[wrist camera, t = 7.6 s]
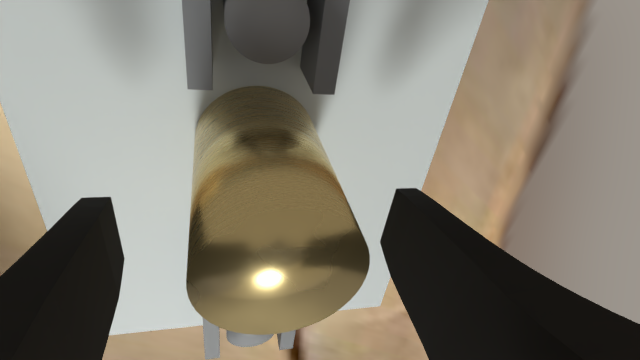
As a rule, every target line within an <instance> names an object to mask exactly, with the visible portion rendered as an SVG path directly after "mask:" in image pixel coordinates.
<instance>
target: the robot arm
mask: <svg viewBox="0 0 640 360" xmlns="http://www.w3.org/2000/svg"><path fill="white" fill-rule="evenodd" d="M380 244H381V247H382V251H383V254H384V258H385V261H386V264H387V267H388V270H389V273H390V275H391V278H392V280H393V282H394V284H395V287H396V289H397V291H398V293H399V295H400V297H401V300H402V302H403V304H404V306H405V308H406V310H407V312H408V314H409V317H410V319H411V321H412V323H413V325H414V327H415V329H416V331H417V333H418V336H419V338H420V340H421V342H422V344H423V346H424V349H425V351H426V354H427V356H428V358H429V360H640V324H638V323H635V322H633V321H631V320H629V319H627V318H625V317H623V316H620V315H618V314H616V313H614V312H611V311H610V310H608V309H605V308H603V307H602V306H600V305H598V304H595V303H594V302H592V301H590V300H588V299H586V298H583V297H581V296H579V295H578V294H576V293H574V292H572V291H570V290H568V289H566V288H564V287H562V286H561V285H559V284H557V283H556V282H554V281H552V280H550V279H549V278H547V277H545V276H543V275H542V274H540V273H538V272H537V271H535V270H533V269H531V268H530V267H528V266H527V265H525V264H523V263H522V262H520V261H519V260H517V259H516V258H514V257H513V256H511V255H510V254H508V253H507V252H505V251H504V250H502V249H501V248H499V247H498V246H496V245H495V244H493V243H492V242H490V241H489V240H487V239H486V238H485V237H483V236H482V235H480V234H479V233H478V232H476V231H475V230H473V229H472V228H471V227H469V226H468V225H467V224H465V223H464V222H463V221H461V220H460V219H459V218H457V217H456V216H455V215H453V214H452V213H450V212H449V211H448V210H446V209H445V208H444V207H442V206H441V205H440V204H438V203H437V202H436V201H434V200H433V199H432V198H430V197H429V196H427V195H426V194H424V193H423V192H421V191H420V190H418V189H417V188H398V189H396V191H395V194H394V197H393V200H392V204H391V207H390V210H389V214H388V217H387V220H386V223H385V227H384V230H383V233H382V236H381V240H380ZM124 259H125V258H124V254H123V249H122V245H121V240H120V236H119V231H118V227H117V222H116V218H115V213H114V209H113V204H112V200H111V197H87V198H81V199H79V200H78V201H77V202H76V203H75V204H74V205H73V206H72V207H71V208H70V209H69V210H68V211H67V212H66V213H65V214H64V215H63V216H62V217H61V218H60V219H59V220H58V221H57V222H56V223H55V224H54V225H53V226H52V227H51V228H50V229H49V230H48V231H47V232H46V233H45V234H44V235H43V236H42V237H41V238H40V239H39V240H38V241H37V242H36V243H35V244H34V245H33V246H32V247H31V248H30V249H29V250H28V251H27V252H26V253H25V254H24V255H23V256H22V257H20V258H19V259H18V260H17V261H16V262H15V263H14V264H13V265H12V266H11V267H10V268H9V269H8V270H7V271H6V272H5V273H3V274H2V275H1V276H0V360H102V357H103V354H104V350H105V347H106V343H107V340H108V336H109V333H110V329H111V325H112V322H113V318H114V314H115V311H116V307H117V303H118V300H119V294H120V288H121V281H122V274H123V266H124Z"/></svg>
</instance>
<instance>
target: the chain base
mask: <svg viewBox="0 0 640 360" xmlns="http://www.w3.org/2000/svg"><path fill="white" fill-rule="evenodd" d="M487 3H488V0H0V103H1V105H2V108H3V111H4V114H5V116H6V119H7V122H8V124H9V127H10V130H11V133H12V135H13V138H14V141H15V144H16V146H17V149H18V152H19V155H20V157H21V160H22V163H23V166H24V168H25V171H26V174H27V177H28V179H29V182H30V185H31V187H32V190H33V193H34V196H35V198H36V201H37V204H38V207H39V209H40V212H41V215H42V218H43V220H44V223H45V226H46V229H47V231H48V230H49V229H50V228H51V227H52V226H53V225H54V224H55V223H56V222H57V221H58V220H59V219H60V218H61V217H62V216H63V215H64V214H65V213H66V212H67V211H68V210H69V209H70V208H71V207H72V206H73V205H74V204H75V203H76V202H77V201H78V200H79V199H81V198H87V197H111V200H112V204H113V209H114V213H115V218H116V222H117V227H118V231H119V236H120V240H121V245H122V249H123V254H124V258H125V259H124V266H123V274H122V281H121V288H120V294H119V300H118V303H117V307H116V311H115V314H114V318H113V322H112V325H111V329H110V333H109V335H116V334H126V333H135V332H144V331H153V330H163V329H172V328H181V327H191V326H200V325H203V332H204V348H205V359H213V358H220V343H219V327H218V326H216V325H214V324H212V323H210V322H208V321H207V320H206V319H204V318H203V317H202V316H201V315H200V314H199V313H198V312H197V311H196V310H195V309H194V307H193V306H192V304H191V302H190V300H189V298H188V294H187V290H186V275H187V258H188V242H189V225H190V208H191V191H192V174H193V158H194V141H195V131H196V127H197V124H198V121H199V119H200V117H201V115H202V114H203V112H204V111H205V109H206V108H207V107H208V106H209V105H210V104H211V103H212V102H213V101H214V100H216V99H217V98H218V97H220V96H221V95H223V94H225V93H227V92H229V91H232V90H234V89H238V88H241V87H247V86H266V87H271V88H275V89H278V90H281V91H283V92H285V93H287V94H289V95H291V96H292V97H293V98H295V99H296V100H297V101H298V102H299V103H301V105H302V106H303V107H304V108H305V109H306V111H307V113H308V114H309V116H310V118H311V121H312V123H313V125H314V127H315V130H316V132H317V134H318V136H319V138H320V141H321V143H322V145H323V147H324V150H325V152H326V154H327V156H328V158H329V161H330V163H331V165H332V167H333V170H334V172H335V174H336V176H337V178H338V181H339V183H340V185H341V187H342V190H343V192H344V194H345V196H346V198H347V201H348V203H349V205H350V207H351V210H352V212H353V214H354V216H355V218H356V221H357V223H358V225H359V227H360V230H361V232H362V234H363V236H364V238H365V241H366V243H367V246H368V248H369V254H370V265H369V270H368V273H367V276H366V279H365V281H364V282H363V284H362V286H361V288H360V289H359V290H358V292H357V293H356V294H355V295H354V296H353V298H352V299H351V300H350V301H349V302H347V303H346V304H345V305H344V306H343V307H342V308H340V309H339V310H348V309H357V308H366V307H376V306H380V305H381V302H382V299H383V296H384V293H385V291H386V288H387V285H388V282H389V279H390V276H391V275H390V273H389V270H388V267H387V264H386V261H385V258H384V254H383V251H382V247H381V244H380V240H381V236H382V233H383V230H384V227H385V223H386V220H387V217H388V214H389V210H390V207H391V204H392V200H393V197H394V194H395V191H396V189H398V188H417V189H418V190H420V191H421V189H422V186H423V184H424V181H425V178H426V175H427V172H428V169H429V167H430V164H431V161H432V158H433V155H434V153H435V150H436V147H437V144H438V141H439V138H440V136H441V133H442V130H443V127H444V124H445V122H446V119H447V116H448V113H449V110H450V107H451V105H452V102H453V99H454V96H455V93H456V91H457V88H458V85H459V82H460V79H461V77H462V74H463V71H464V68H465V65H466V62H467V60H468V57H469V54H470V51H471V48H472V46H473V43H474V40H475V37H476V34H477V31H478V29H479V26H480V23H481V20H482V17H483V15H484V12H485V9H486V6H487ZM339 310H338V311H339ZM273 335H274V334H268V335H253V334H243V333H236V332H232V331H229V330H227V339H228V341H229V342H230V343H231V344H233V345H236V346H240V347H251V346H256V345H260V344H262V343H264V342H266V341H268V340H269V339H270V338H271V337H272V336H273ZM294 336H295V330H293V331H289V332H284V333H278V334H277V337H278V344H279V350H282V349H290V348H293V342H294Z"/></svg>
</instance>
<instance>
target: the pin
mask: <svg viewBox="0 0 640 360" xmlns="http://www.w3.org/2000/svg"><path fill="white" fill-rule="evenodd" d="M369 265H370V254H369V248H368V246H367V243H366V241H365V238H364V236H363V234H362V232H361V230H360V227H359V225H358V223H357V221H356V218H355V216H354V214H353V212H352V210H351V207H350V205H349V203H348V201H347V198H346V196H345V194H344V192H343V190H342V187H341V185H340V183H339V181H338V178H337V176H336V174H335V172H334V170H333V167H332V165H331V163H330V161H329V158H328V156H327V154H326V152H325V150H324V147H323V145H322V143H321V141H320V138H319V136H318V134H317V132H316V130H315V127H314V125H313V123H312V121H311V118H310V116H309V114H308V113H307V111H306V109H305V108H304V107H303V106H302V105H301V103H299V102H298V101H297V100H296V99H295V98H293V97H292V96H291V95H289V94H287V93H285V92H283V91H281V90H278V89H275V88H271V87H266V86H247V87H241V88H238V89H234V90H232V91H229V92H227V93H225V94H223V95H221V96H220V97H218V98H217V99H216V100H214V101H213V102H212V103H211V104H210V105H209V106H208V107H207V108H206V109H205V111H204V112H203V114H202V115H201V117H200V119H199V121H198V124H197V127H196V131H195V141H194V158H193V174H192V191H191V208H190V225H189V242H188V258H187V275H186V290H187V294H188V298H189V300H190V302H191V304H192V306H193V307H194V309H195V310H196V311H197V312H198V313H199V314H200V315H201V316H202V317H203V318H204V319H206V320H207V321H208V322H210V323H212V324H214V325H216V326H218V327H220V328H223V329H225V330H229V331H232V332H236V333H243V334H253V335H268V334H278V333H284V332H289V331H293V330H297V329H300V328H303V327H306V326H309V325H312V324H314V323H316V322H319V321H321V320H323V319H325V318H327V317H328V316H330V315H332V314H333V313H335V312H336V311H338V310H339V309H340V308H342V307H343V306H344V305H345V304H346V303H347V302H349V301H350V300H351V299H352V298H353V296H354V295H355V294H356V293H357V292H358V290H359V289H360V288H361V286H362V284H363V282H364V281H365V279H366V276H367V273H368V270H369Z"/></svg>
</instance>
